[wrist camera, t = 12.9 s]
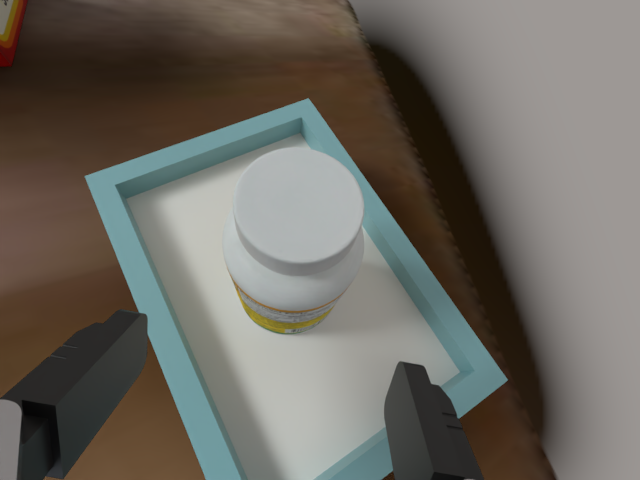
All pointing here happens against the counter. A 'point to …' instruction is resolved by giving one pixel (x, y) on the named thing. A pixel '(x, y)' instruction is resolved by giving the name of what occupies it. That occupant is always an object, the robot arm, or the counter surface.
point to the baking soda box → (10, 28)
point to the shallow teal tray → (266, 347)
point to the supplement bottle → (293, 238)
